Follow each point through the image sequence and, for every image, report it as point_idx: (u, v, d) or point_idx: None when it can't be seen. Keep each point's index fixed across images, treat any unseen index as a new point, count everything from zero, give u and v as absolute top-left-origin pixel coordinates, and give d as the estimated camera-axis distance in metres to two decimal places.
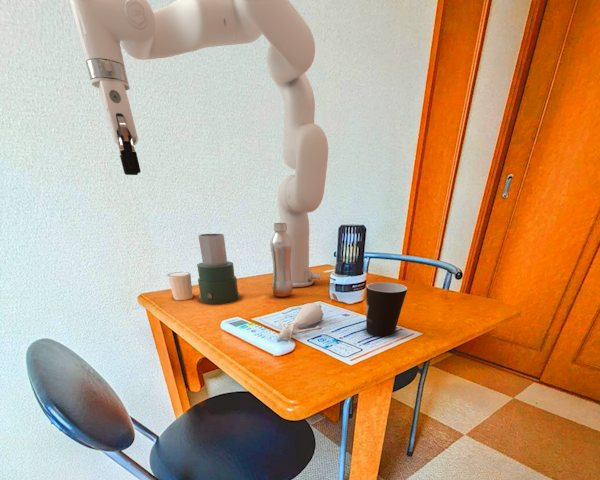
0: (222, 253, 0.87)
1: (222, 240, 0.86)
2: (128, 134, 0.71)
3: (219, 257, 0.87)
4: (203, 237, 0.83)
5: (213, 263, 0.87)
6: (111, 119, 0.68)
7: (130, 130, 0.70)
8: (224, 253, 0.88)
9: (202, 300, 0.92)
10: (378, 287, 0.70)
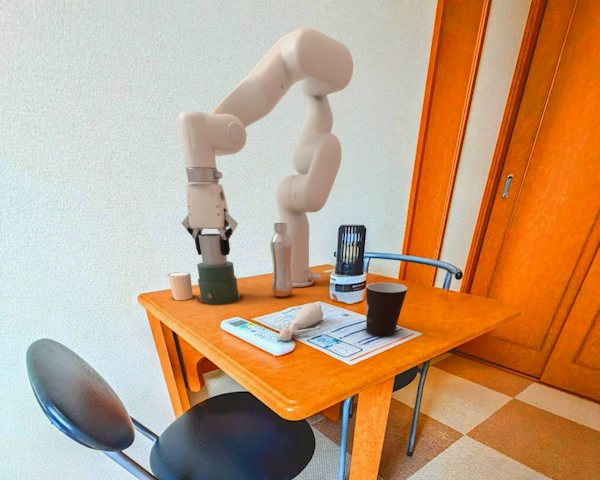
0: None
1: None
2: None
3: (219, 257, 0.87)
4: (203, 237, 0.83)
5: (213, 263, 0.87)
6: (221, 213, 0.81)
7: None
8: None
9: (202, 300, 0.92)
10: (378, 287, 0.70)
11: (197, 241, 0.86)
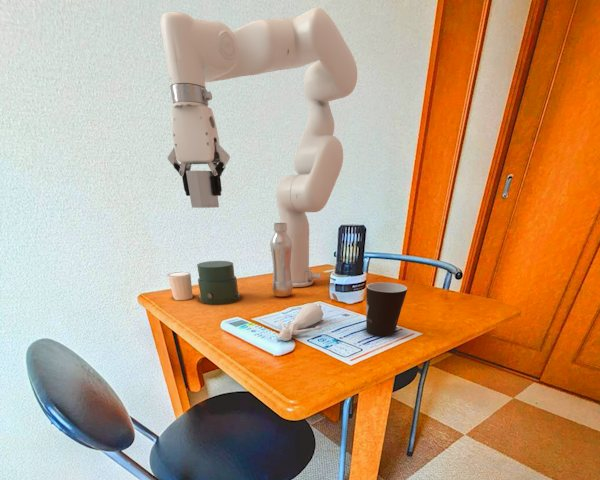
0: None
1: None
2: None
3: (209, 197, 0.77)
4: (191, 172, 0.74)
5: (202, 204, 0.77)
6: (211, 142, 0.71)
7: (219, 153, 0.75)
8: None
9: (202, 300, 0.92)
10: (378, 287, 0.70)
11: (185, 179, 0.77)
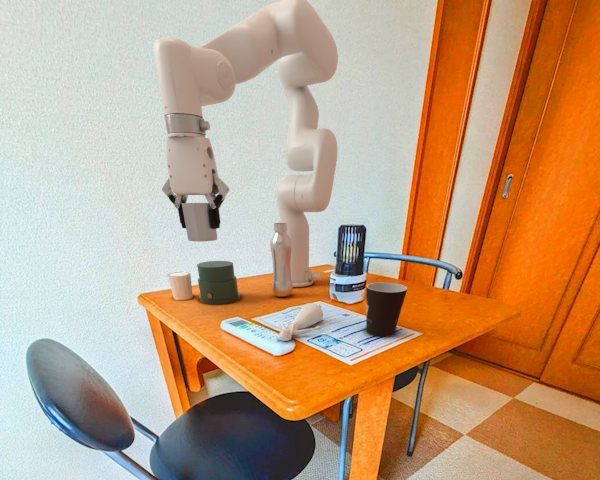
0: None
1: None
2: None
3: (207, 230, 0.72)
4: (187, 205, 0.69)
5: (200, 238, 0.72)
6: (209, 174, 0.66)
7: None
8: None
9: (202, 300, 0.92)
10: (378, 287, 0.70)
11: (181, 211, 0.71)
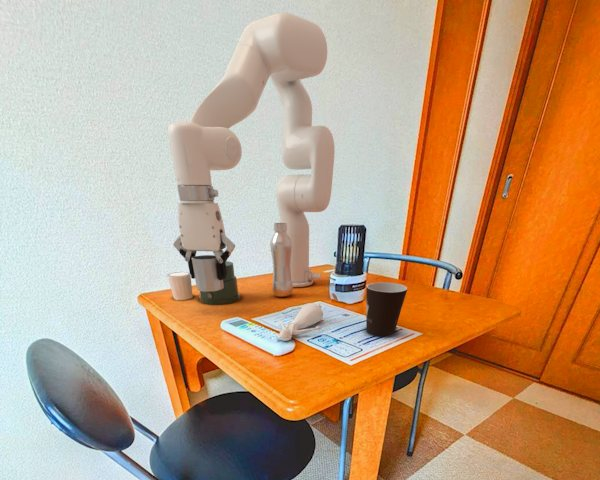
0: None
1: None
2: None
3: (214, 281, 0.78)
4: (197, 260, 0.75)
5: (208, 288, 0.78)
6: (217, 235, 0.72)
7: None
8: None
9: (202, 300, 0.92)
10: (378, 287, 0.70)
11: (190, 264, 0.78)
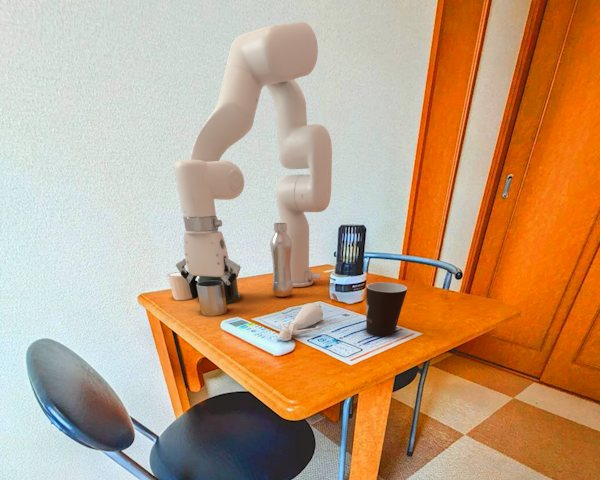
0: (222, 302, 0.82)
1: (222, 289, 0.81)
2: None
3: (218, 306, 0.81)
4: (201, 287, 0.78)
5: (212, 313, 0.82)
6: (221, 262, 0.76)
7: (228, 267, 0.79)
8: (224, 302, 0.83)
9: None
10: (378, 287, 0.70)
11: (191, 285, 0.81)
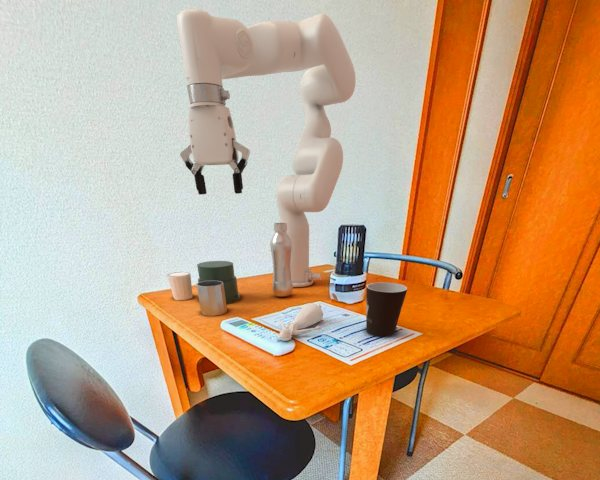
0: (222, 302, 0.82)
1: (222, 289, 0.81)
2: None
3: (218, 306, 0.81)
4: (201, 287, 0.78)
5: (212, 313, 0.82)
6: (229, 143, 0.70)
7: (237, 153, 0.73)
8: (224, 302, 0.83)
9: None
10: (378, 287, 0.70)
11: (197, 177, 0.75)
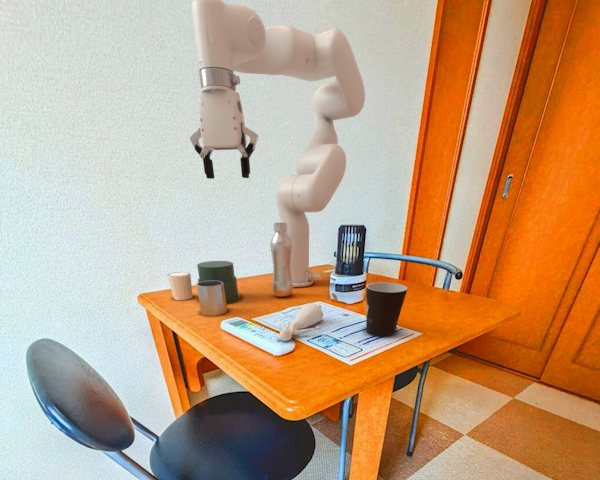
0: (222, 302, 0.82)
1: (222, 289, 0.81)
2: None
3: (218, 306, 0.81)
4: (201, 287, 0.78)
5: (212, 313, 0.82)
6: (238, 127, 0.72)
7: (245, 139, 0.75)
8: (224, 302, 0.83)
9: None
10: (378, 287, 0.70)
11: (206, 161, 0.77)
